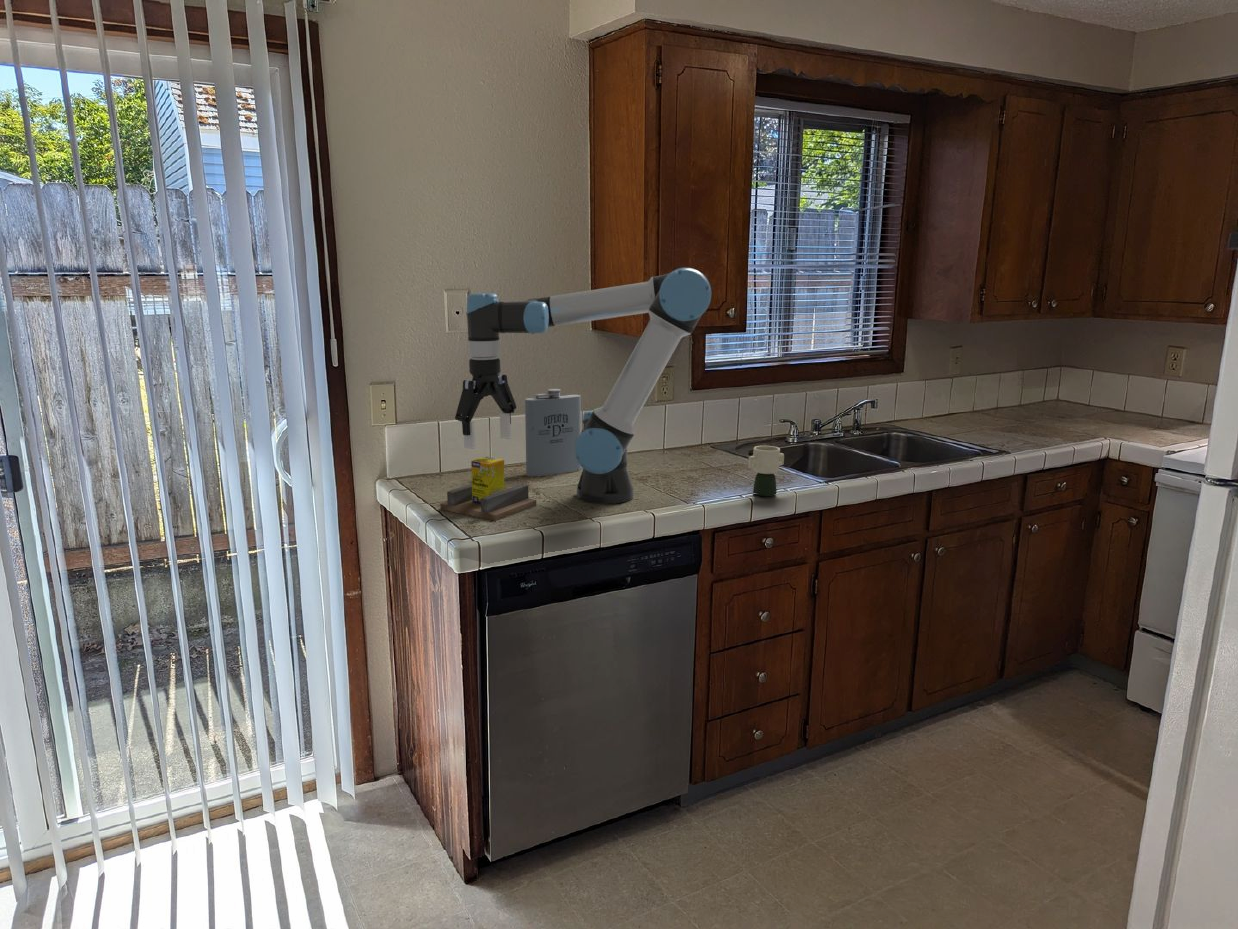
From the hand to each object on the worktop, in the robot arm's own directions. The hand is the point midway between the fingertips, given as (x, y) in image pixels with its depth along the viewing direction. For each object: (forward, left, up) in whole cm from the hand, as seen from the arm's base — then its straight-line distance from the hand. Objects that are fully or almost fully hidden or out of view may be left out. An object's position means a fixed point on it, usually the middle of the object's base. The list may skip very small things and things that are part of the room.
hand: (488, 443), depth 215 cm
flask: (+8, -39, -17) cm, 43 cm away
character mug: (-54, -50, -17) cm, 75 cm away
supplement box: (0, 0, -15) cm, 15 cm away
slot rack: (0, 0, -17) cm, 17 cm away
